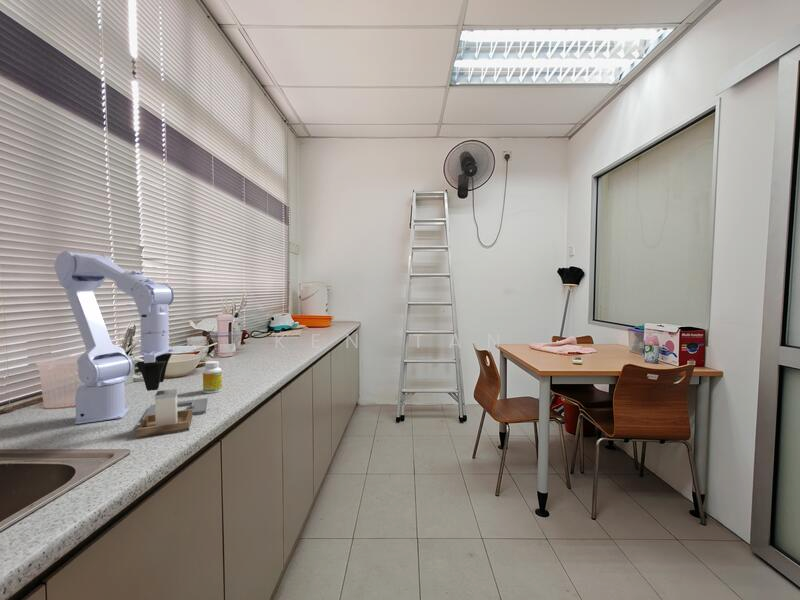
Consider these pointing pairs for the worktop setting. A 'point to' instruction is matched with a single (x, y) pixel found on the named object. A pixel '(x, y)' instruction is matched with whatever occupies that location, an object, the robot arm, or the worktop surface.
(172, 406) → the block
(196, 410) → the frame
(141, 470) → the worktop surface
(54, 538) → the worktop surface
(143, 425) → the tray
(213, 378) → the supplement bottle
